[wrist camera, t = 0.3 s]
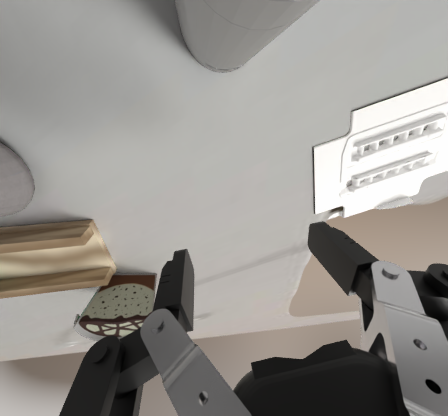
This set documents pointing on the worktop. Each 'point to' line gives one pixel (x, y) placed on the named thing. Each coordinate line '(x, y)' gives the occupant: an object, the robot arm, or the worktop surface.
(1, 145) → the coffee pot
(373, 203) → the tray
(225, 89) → the worktop surface
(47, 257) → the channel board
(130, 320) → the food container
